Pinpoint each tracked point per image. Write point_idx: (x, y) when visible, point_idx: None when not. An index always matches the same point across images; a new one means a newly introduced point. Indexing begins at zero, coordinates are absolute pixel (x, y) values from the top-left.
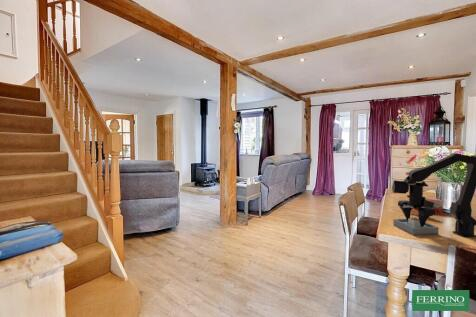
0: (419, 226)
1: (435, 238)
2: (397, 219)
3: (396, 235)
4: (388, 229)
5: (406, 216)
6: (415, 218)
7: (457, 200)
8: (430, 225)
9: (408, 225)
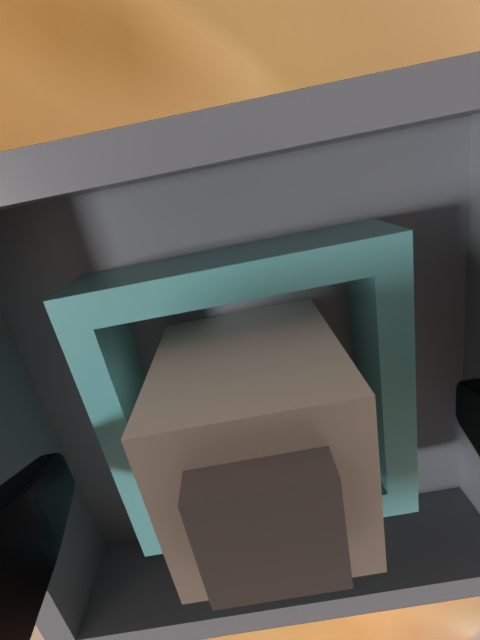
0: (385, 399)
1: None
2: (61, 622)
3: (452, 625)
4: (268, 633)
5: (37, 611)
6: (293, 547)
7: None
8: (383, 129)
9: (403, 591)
